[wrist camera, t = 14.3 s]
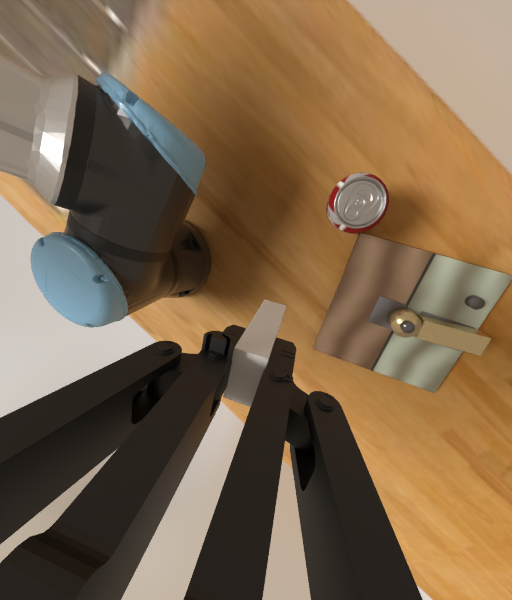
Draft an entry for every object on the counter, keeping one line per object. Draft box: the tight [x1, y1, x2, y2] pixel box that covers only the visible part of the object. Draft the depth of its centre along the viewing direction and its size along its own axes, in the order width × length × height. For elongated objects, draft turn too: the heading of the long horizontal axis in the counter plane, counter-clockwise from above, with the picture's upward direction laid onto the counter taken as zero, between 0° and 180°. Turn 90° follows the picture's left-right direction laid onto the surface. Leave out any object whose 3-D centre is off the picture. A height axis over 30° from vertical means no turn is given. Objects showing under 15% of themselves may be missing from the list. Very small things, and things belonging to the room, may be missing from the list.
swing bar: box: [387, 307, 491, 356], centre depth 38 cm, size 13×4×4 cm, turn 78°
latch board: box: [313, 233, 512, 393], centre depth 41 cm, size 22×22×3 cm
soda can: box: [327, 173, 389, 233], centre depth 33 cm, size 7×7×12 cm
